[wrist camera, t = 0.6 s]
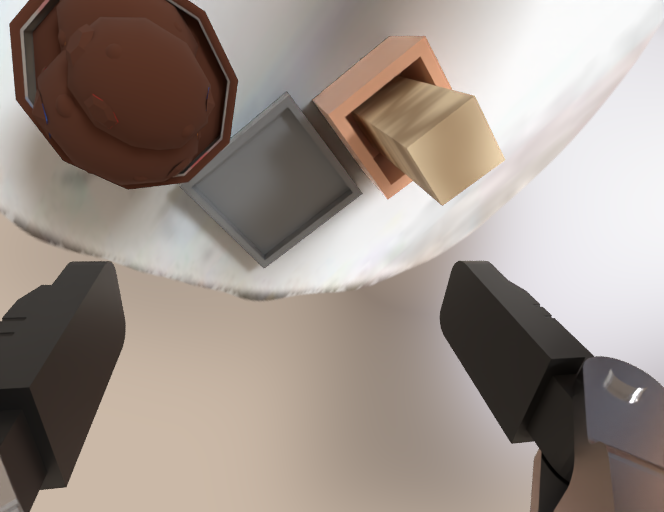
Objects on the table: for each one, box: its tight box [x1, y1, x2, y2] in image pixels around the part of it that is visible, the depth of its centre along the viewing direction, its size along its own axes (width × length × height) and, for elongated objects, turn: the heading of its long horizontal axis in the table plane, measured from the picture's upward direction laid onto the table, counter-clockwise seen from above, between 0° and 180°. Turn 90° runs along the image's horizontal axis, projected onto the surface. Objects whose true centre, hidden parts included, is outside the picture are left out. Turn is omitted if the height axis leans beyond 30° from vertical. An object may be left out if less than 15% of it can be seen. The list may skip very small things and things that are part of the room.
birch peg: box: [350, 76, 505, 206], centre depth 27 cm, size 4×4×14 cm
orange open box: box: [312, 36, 452, 199], centre depth 30 cm, size 8×8×7 cm
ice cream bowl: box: [9, 0, 238, 189], centre depth 23 cm, size 11×11×15 cm
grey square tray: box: [180, 92, 363, 268], centre depth 34 cm, size 11×10×2 cm
